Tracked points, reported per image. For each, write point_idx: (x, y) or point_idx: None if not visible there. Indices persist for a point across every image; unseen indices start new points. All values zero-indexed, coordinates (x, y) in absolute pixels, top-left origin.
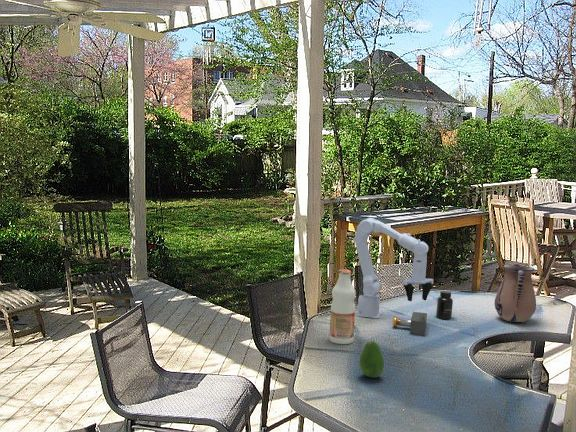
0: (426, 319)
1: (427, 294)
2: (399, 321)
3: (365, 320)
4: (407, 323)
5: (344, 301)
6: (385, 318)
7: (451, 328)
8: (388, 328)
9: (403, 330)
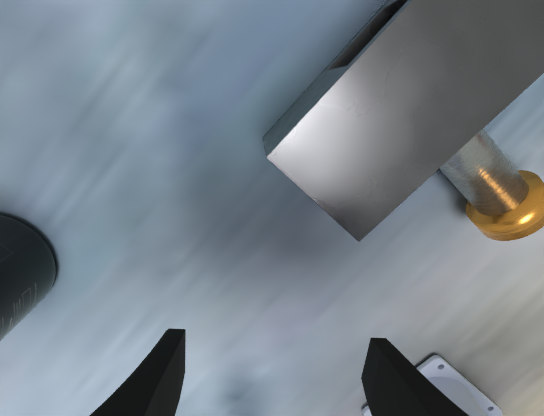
0: (339, 71)
1: (141, 380)
2: (516, 171)
3: (517, 347)
4: None
5: None
6: None
7: (94, 17)
8: None
9: None
